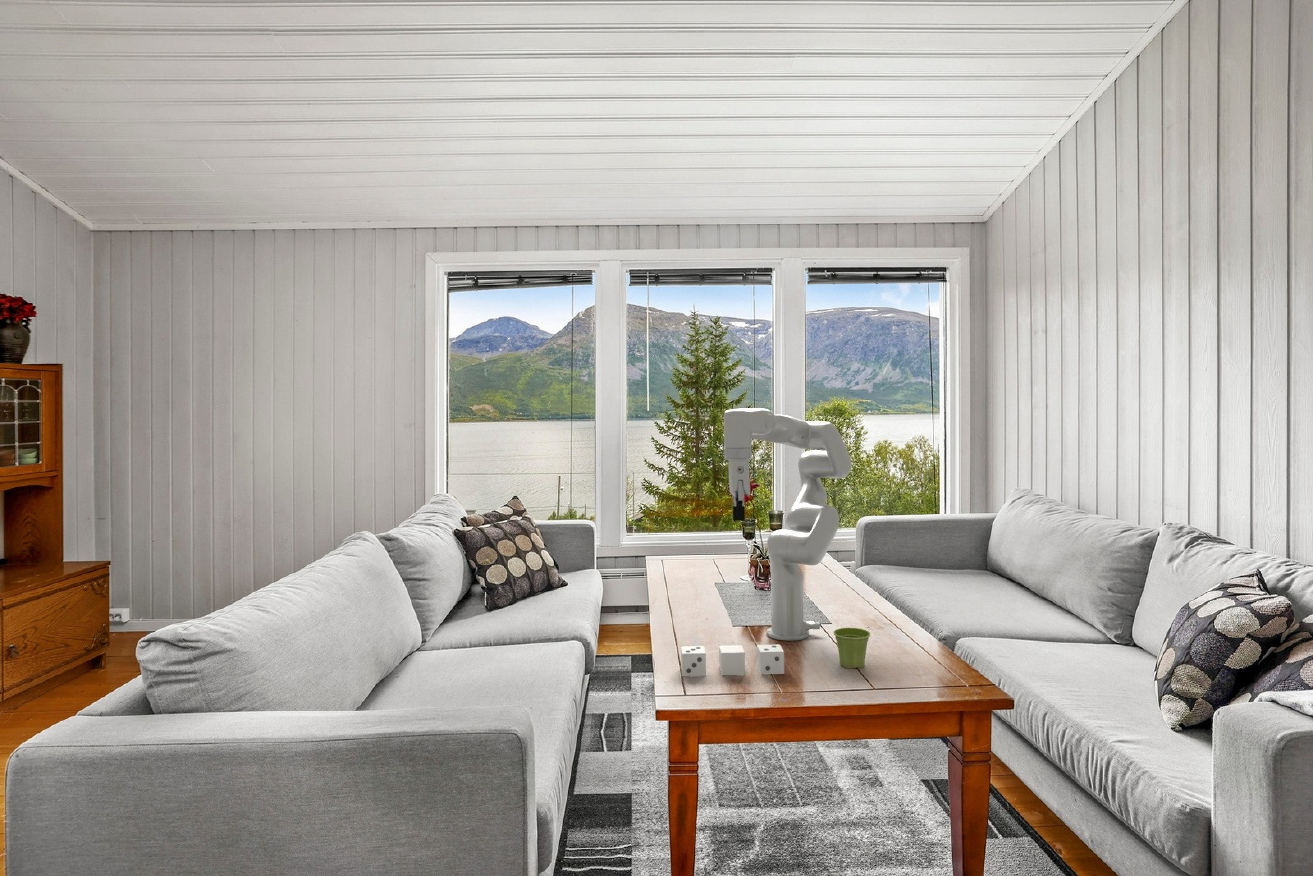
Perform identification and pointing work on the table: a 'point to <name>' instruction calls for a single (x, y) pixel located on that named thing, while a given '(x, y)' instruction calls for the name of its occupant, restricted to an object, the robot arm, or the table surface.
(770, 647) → the two dot block
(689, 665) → the three dot block
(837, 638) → the plant pot
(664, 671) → the table surface
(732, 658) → the plain block
